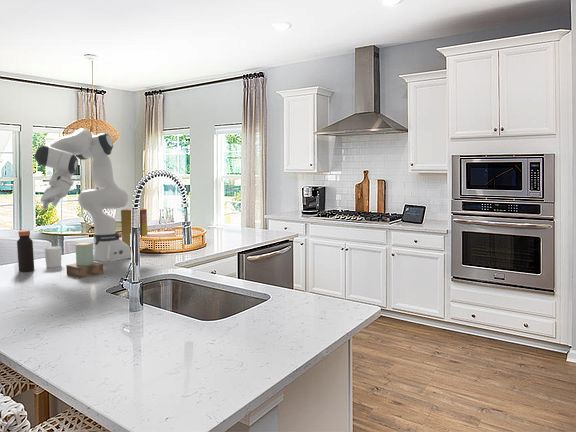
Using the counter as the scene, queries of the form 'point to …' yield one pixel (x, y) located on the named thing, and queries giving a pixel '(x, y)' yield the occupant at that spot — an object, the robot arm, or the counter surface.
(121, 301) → the counter surface
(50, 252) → the white cup
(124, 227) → the food packaging
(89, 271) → the walnut block
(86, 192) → the robot arm
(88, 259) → the tin
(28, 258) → the bottle
